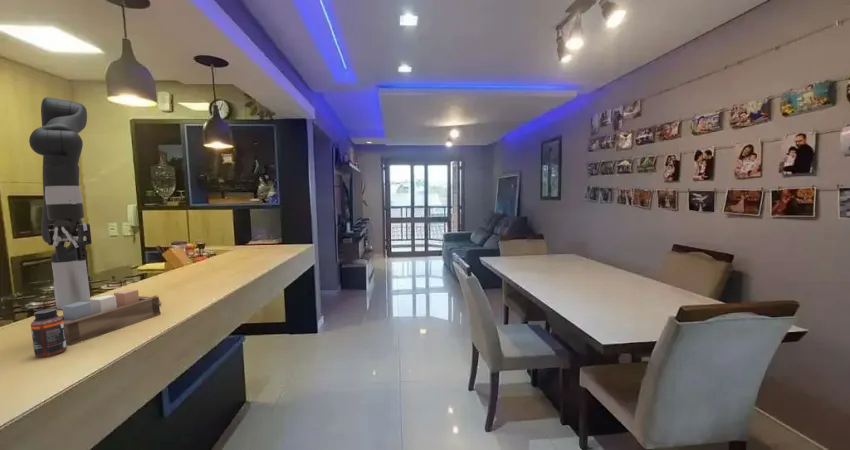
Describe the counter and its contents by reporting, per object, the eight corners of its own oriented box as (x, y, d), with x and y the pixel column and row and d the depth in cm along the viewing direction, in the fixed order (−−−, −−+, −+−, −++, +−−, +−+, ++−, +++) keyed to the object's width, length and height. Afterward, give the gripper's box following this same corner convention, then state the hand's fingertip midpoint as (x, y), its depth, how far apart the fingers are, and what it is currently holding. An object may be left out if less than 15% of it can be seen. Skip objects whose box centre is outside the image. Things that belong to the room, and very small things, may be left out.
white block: (91, 315, 116) (89, 299, 115) (107, 310, 120) (105, 295, 120) (102, 316, 115) (100, 299, 114) (117, 311, 119) (115, 295, 118)
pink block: (115, 308, 123) (114, 293, 122) (129, 304, 127) (128, 289, 126) (126, 309, 121) (124, 293, 121) (139, 304, 126) (138, 289, 125)
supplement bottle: (73, 348, 102) (68, 306, 100) (51, 358, 96) (45, 314, 95) (51, 348, 102) (46, 307, 101) (27, 358, 96) (21, 314, 95)
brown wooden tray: (40, 341, 107) (38, 321, 106) (133, 312, 132) (132, 295, 131) (71, 345, 104) (68, 324, 103) (160, 314, 129) (158, 297, 128)
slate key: (64, 323, 109) (62, 306, 109) (81, 318, 113) (79, 301, 113) (75, 324, 108) (73, 307, 108) (92, 319, 112) (90, 302, 112)
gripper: (30, 203, 106) (38, 262, 108) (67, 202, 102) (74, 263, 104) (62, 202, 113) (69, 257, 115) (97, 201, 109) (104, 258, 111)
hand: (71, 260), depth 109 cm, fingers open, 7 cm apart
